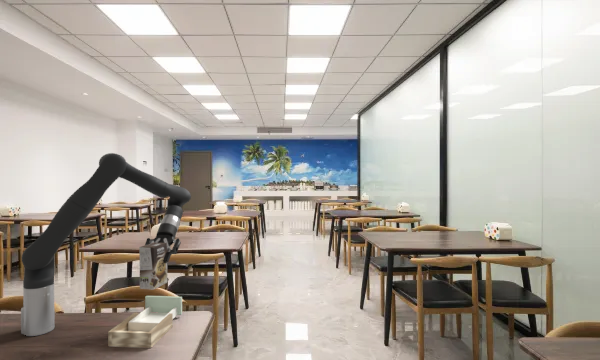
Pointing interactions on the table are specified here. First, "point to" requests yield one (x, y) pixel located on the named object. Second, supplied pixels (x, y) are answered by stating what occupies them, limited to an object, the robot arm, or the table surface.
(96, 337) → the table surface
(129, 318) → the box
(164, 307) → the drawer
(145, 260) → the coffee box
